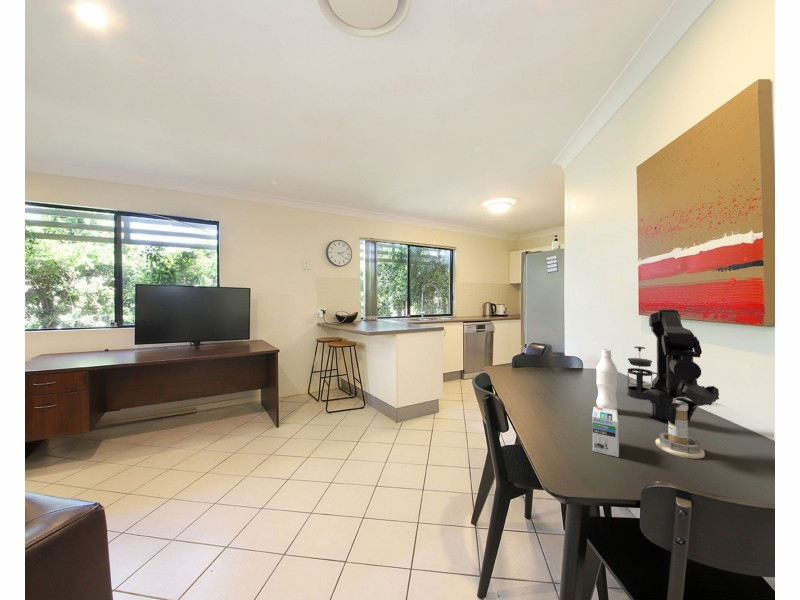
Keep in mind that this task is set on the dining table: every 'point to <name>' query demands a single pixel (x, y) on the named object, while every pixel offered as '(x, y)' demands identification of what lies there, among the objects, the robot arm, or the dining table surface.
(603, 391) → the water bottle
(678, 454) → the collar socket
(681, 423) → the sprinkles bottle
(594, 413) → the light bulb box
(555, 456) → the dining table surface
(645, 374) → the french press
